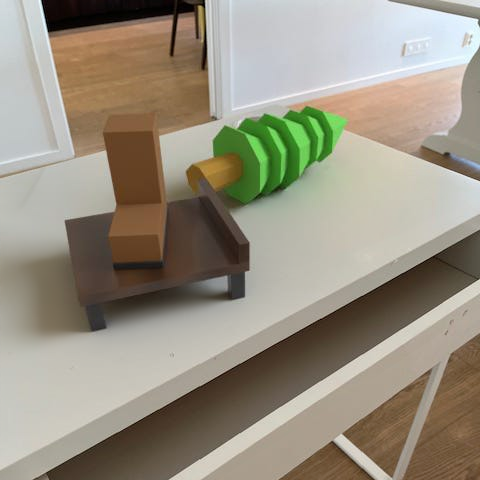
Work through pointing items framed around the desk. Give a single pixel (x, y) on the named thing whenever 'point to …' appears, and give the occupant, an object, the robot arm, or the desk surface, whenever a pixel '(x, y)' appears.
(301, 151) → the decorative tree
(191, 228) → the shoe shelf
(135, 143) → the boot
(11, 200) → the desk surface
